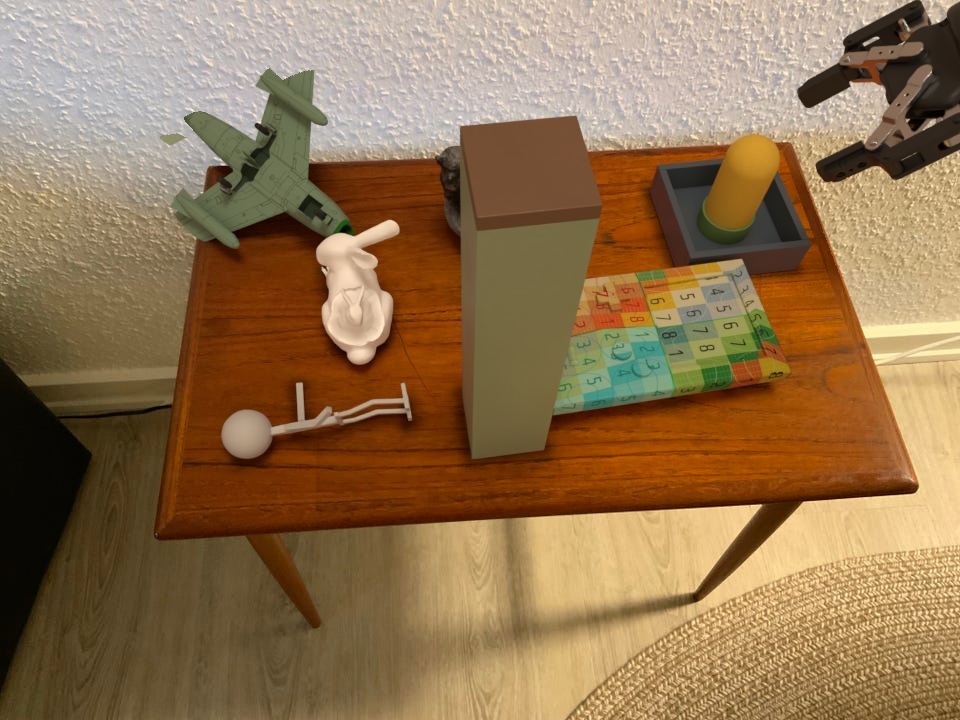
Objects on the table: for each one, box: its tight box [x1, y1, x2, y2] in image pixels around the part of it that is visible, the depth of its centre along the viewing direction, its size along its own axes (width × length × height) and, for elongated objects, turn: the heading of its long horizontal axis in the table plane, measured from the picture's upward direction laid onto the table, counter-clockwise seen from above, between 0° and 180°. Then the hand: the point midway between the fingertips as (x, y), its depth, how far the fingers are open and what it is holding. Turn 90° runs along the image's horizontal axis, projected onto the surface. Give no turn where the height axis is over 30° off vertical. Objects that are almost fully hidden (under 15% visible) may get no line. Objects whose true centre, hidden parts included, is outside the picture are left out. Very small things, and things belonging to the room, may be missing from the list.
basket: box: [649, 157, 812, 276], centre depth 71 cm, size 11×11×4 cm
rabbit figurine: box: [315, 219, 401, 366], centre depth 63 cm, size 12×8×10 cm, turn 10°
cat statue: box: [434, 145, 461, 238], centre depth 67 cm, size 12×7×10 cm, turn 86°
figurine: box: [220, 382, 413, 460], centre depth 59 cm, size 6×6×15 cm
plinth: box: [459, 114, 604, 460], centre depth 49 cm, size 6×6×30 cm
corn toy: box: [697, 133, 781, 244], centre depth 67 cm, size 5×5×11 cm
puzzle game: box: [552, 259, 792, 416], centre depth 63 cm, size 12×5×20 cm
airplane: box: [158, 67, 355, 250], centre depth 73 cm, size 24×23×10 cm
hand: (810, 135), depth 62 cm, fingers open, 8 cm apart
